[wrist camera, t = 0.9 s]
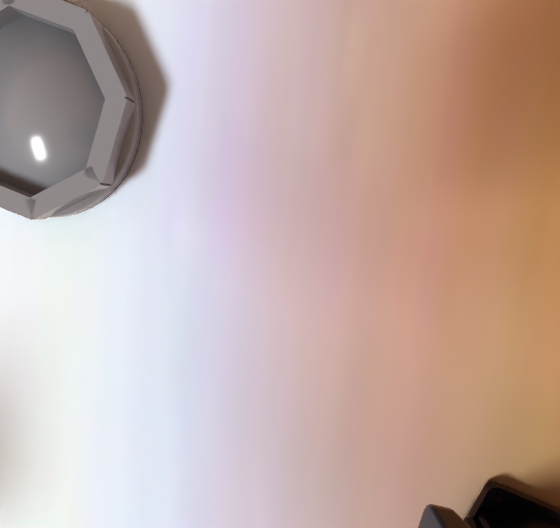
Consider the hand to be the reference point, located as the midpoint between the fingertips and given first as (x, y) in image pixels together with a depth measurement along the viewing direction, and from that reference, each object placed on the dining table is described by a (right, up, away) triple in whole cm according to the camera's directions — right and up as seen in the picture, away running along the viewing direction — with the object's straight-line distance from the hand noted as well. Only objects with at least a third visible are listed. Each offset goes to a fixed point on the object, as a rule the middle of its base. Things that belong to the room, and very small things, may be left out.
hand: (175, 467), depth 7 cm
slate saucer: (-10, +11, +13) cm, 20 cm away
